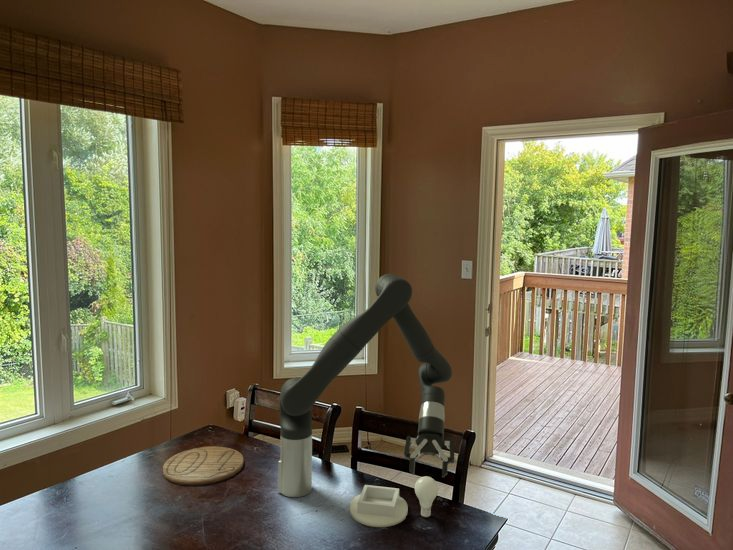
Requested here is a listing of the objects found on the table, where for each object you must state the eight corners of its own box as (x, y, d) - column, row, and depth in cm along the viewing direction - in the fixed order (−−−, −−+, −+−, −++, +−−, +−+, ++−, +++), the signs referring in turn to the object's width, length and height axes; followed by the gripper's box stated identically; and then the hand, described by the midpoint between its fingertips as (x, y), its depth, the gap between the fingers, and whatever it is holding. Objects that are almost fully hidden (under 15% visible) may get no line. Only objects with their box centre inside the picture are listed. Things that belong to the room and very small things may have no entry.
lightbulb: (436, 524, 139) (437, 484, 138) (412, 521, 140) (413, 481, 139) (438, 511, 145) (439, 473, 144) (415, 509, 147) (416, 471, 146)
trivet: (250, 452, 183) (250, 446, 183) (233, 487, 158) (233, 480, 158) (178, 451, 183) (178, 446, 183) (150, 486, 158) (149, 480, 158)
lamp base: (343, 523, 139) (344, 506, 139) (356, 493, 155) (356, 478, 154) (403, 530, 136) (404, 513, 136) (410, 499, 152) (410, 484, 151)
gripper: (407, 413, 155) (401, 467, 145) (455, 417, 152) (453, 472, 142) (408, 424, 161) (403, 477, 151) (455, 428, 158) (453, 482, 148)
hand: (427, 475), depth 146 cm, fingers open, 8 cm apart
